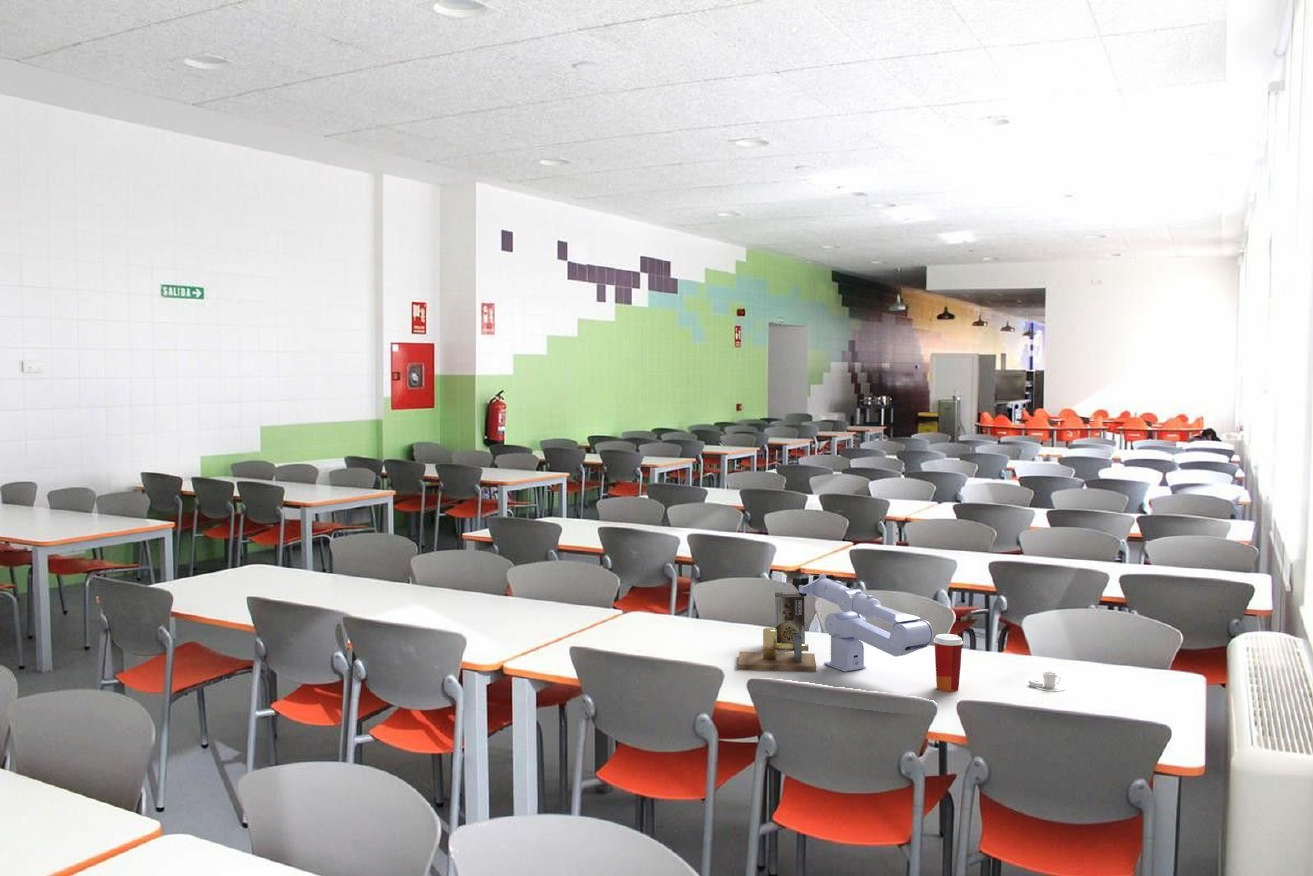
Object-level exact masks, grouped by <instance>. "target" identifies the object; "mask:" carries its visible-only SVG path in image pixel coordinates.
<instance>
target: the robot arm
mask: <svg viewBox="0 0 1313 876" xmlns="http://www.w3.org/2000/svg"><path fill="white" fill-rule="evenodd" d="M812 576H813V577H812V581H811V582H809V581H810V580H809V579H810V578H809V577H802V578H800V577H792V580H791V581H792V586H793V587H795V589H796V590H797V593H799V594H800V596H802V597H807V595H811V596H812V597H816V598H819V599H823V600H825V601H828V602H830V603H833V604H834V605H837V606H838V607H839V609H840V610H841V611H842V612H834V613H832V612H831V613H830V612H829V613H828V614H826V616H825V618H824V627H825V628H824V629H825V630H826V632H827V633H828V635H829V636H830V661H824V662H823V664H824V665H826V666H828V667H832V668H834V669H836V670H839V671H843V672H850V671H851V672H852V671H856V670H862V669H866V668H867V665H865V664H864V662H865V661H864V660H865V659H864V658H865V657H864V656H865V647H864V644H867V645H869V646H871V647H874V648H876V649H877V650H880V651H882V652H884V653H887V654H888V655H890V656H892V657H895V658H896V657H903V656H906V655H910V654H912V653H914V652H916V651H919V650H921V649H925V648H927V647H929V645H930V644H931V643H932V642H933V640H934V635H935V634H934V629H933V628H934V627H933V626H932V624H931V623H930V622H929V621H928V620H925V619H922V620H921V617H919V616H917V615H914V614H908V613H904V612H901V611H898V610H896V609H892V608H889V607H886V606H884V605H882V604H881V601H880V600H879V599H876V598H875V596H874V595H872V594H868V595H867V594H865V593H864V592H863V591H862V589H861V588H855V589H852V588H850V587H847V586H845V585H843V582H842V581H840V580H835V575H834V574H828V575H826V574H825V573H822V574H819V575H812ZM867 619H869V620H875V619H879V620H881V621H883V622H884V623H885V624H886V623H887V624H888V625H890V627H889V631H887V630H885V629H882V628H880V627H878V626H876V625H873V624H871V623H869V622H867ZM863 643H864V644H863Z"/></svg>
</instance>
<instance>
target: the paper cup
mask: <svg viewBox="0 0 1313 876" xmlns="http://www.w3.org/2000/svg"><path fill="white" fill-rule="evenodd" d="M932 642H933V643H934V658H935V659H934V660H935V662H934V663H935V680H936V682H935V683H936V689H937V690H938V691H941V692H946V693H948V692H949V693H953V692H958V691H959V687H960V679H961V678H960V674H961V668H962V667H961V665H962V653H963V652H962V651H963V644H964V641H963V639H962V637H961V636H959V635H956V634H951V633H939V634H938V633H937V634H936V635H935V637H933V640H932Z"/></svg>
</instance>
